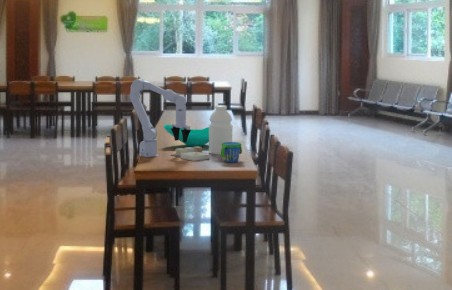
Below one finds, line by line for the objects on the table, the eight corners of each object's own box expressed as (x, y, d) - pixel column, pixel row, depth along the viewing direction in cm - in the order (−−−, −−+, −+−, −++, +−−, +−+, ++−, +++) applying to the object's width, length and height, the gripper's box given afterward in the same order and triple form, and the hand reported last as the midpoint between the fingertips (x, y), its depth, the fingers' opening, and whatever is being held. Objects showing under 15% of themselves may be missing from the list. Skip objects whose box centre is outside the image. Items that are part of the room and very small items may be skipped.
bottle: (233, 155, 378) (233, 107, 374) (209, 155, 377) (209, 106, 373) (231, 151, 392) (231, 104, 388) (208, 151, 391) (208, 104, 387)
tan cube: (196, 154, 375) (196, 147, 375) (192, 153, 378) (192, 146, 378) (201, 153, 378) (202, 147, 377) (197, 153, 381) (197, 146, 380)
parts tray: (181, 158, 365) (181, 156, 364) (170, 156, 372) (170, 154, 372) (206, 155, 377) (206, 153, 376) (195, 153, 384) (195, 151, 384)
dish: (193, 161, 355) (193, 156, 354) (180, 159, 363) (180, 153, 363) (209, 159, 362) (209, 154, 362) (196, 156, 370) (196, 151, 370)
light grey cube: (188, 155, 371) (188, 148, 371) (184, 154, 374) (184, 147, 374) (193, 154, 374) (193, 148, 374) (189, 154, 377) (189, 147, 376)
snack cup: (227, 164, 347) (227, 145, 346) (214, 161, 355) (214, 143, 354) (248, 161, 358) (248, 143, 357) (234, 158, 366) (235, 140, 364)
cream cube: (180, 156, 368) (180, 149, 367) (175, 155, 370) (175, 148, 370) (185, 156, 370) (185, 149, 370) (181, 155, 373) (181, 148, 373)
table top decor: (164, 149, 395) (164, 128, 393) (162, 143, 422) (162, 122, 420) (229, 149, 400) (229, 127, 398) (223, 142, 427) (224, 122, 425)
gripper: (194, 117, 365) (194, 142, 367) (178, 115, 375) (178, 139, 377) (184, 118, 360) (184, 143, 362) (168, 116, 371) (168, 140, 373)
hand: (180, 141), depth 369 cm, fingers open, 7 cm apart
